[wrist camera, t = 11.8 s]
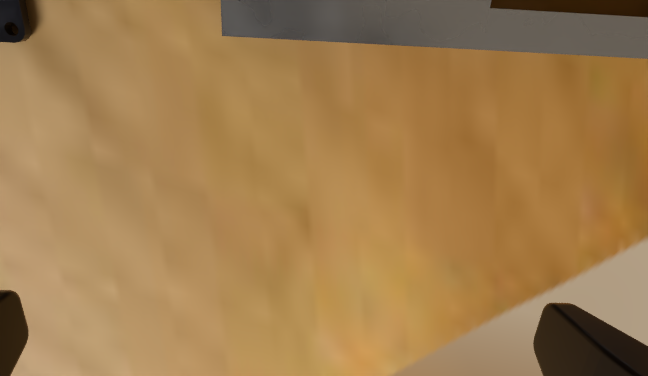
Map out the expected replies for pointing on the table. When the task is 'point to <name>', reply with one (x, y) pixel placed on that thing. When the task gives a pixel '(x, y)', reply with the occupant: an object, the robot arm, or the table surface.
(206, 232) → the table surface
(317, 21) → the rail plate
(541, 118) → the table surface
